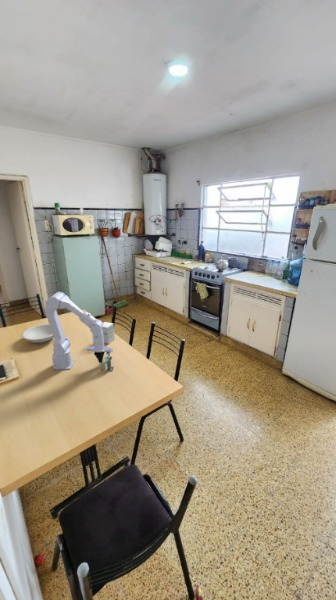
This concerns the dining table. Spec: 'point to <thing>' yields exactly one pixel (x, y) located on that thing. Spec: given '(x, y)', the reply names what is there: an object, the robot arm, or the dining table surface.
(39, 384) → the dining table surface
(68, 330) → the dining table surface
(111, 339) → the supplement box
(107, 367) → the post
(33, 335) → the soup bowl
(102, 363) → the gate
